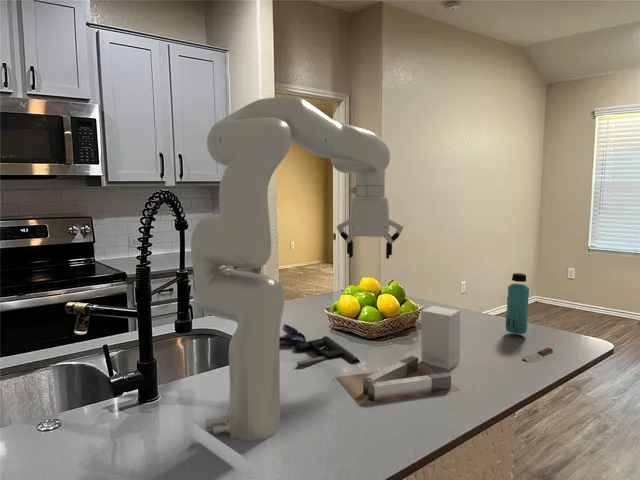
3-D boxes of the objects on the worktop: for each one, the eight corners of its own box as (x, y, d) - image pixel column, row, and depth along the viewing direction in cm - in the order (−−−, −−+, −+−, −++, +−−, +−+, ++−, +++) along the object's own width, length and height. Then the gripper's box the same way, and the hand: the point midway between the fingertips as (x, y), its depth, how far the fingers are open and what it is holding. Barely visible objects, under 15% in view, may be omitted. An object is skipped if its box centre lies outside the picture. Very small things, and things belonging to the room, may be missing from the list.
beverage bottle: (528, 334, 150) (532, 273, 148) (524, 340, 145) (529, 276, 142) (506, 330, 154) (510, 270, 151) (502, 336, 148) (506, 274, 146)
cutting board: (359, 412, 100) (359, 405, 100) (335, 383, 114) (335, 377, 114) (460, 396, 107) (460, 390, 107) (426, 370, 122) (426, 365, 121)
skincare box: (460, 368, 123) (462, 310, 121) (447, 375, 119) (450, 315, 117) (431, 359, 129) (433, 304, 127) (418, 366, 124) (420, 309, 122)
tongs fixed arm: (370, 401, 101) (370, 387, 101) (366, 397, 103) (366, 383, 103) (450, 389, 108) (451, 375, 107) (445, 385, 110) (446, 372, 109)
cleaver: (534, 363, 126) (519, 354, 130) (533, 368, 126) (518, 358, 130) (564, 355, 132) (549, 346, 136) (563, 359, 133) (547, 350, 137)
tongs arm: (368, 395, 104) (368, 382, 104) (361, 392, 105) (361, 379, 105) (418, 369, 118) (418, 357, 118) (410, 367, 120) (411, 355, 119)
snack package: (276, 335, 149) (260, 347, 138) (280, 316, 148) (263, 326, 137) (311, 346, 146) (297, 358, 135) (315, 326, 145) (301, 338, 134)
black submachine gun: (308, 369, 117) (364, 356, 123) (281, 343, 135) (331, 333, 141) (308, 382, 117) (364, 368, 124) (281, 354, 136) (331, 343, 142)
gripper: (334, 193, 120) (334, 259, 122) (403, 193, 117) (402, 261, 119) (339, 191, 127) (339, 254, 130) (404, 191, 124) (402, 255, 126)
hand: (369, 257), depth 124 cm, fingers open, 9 cm apart
